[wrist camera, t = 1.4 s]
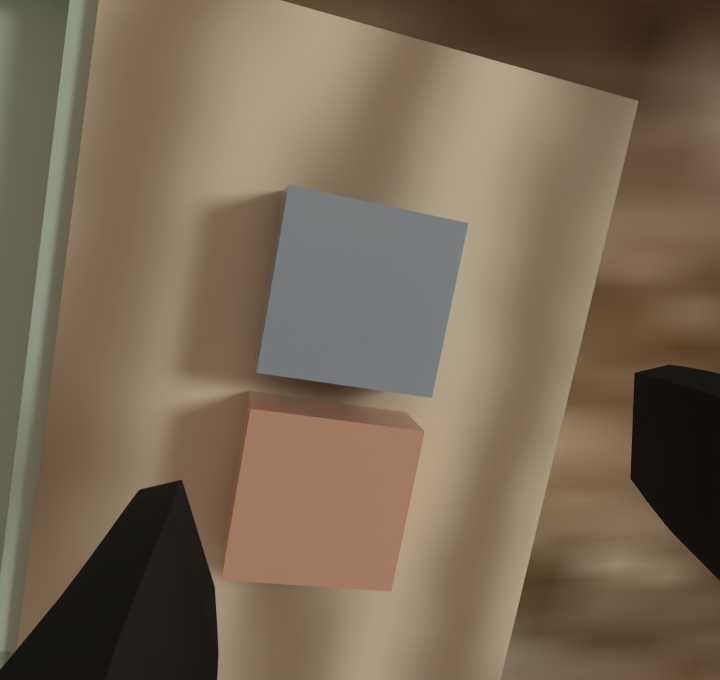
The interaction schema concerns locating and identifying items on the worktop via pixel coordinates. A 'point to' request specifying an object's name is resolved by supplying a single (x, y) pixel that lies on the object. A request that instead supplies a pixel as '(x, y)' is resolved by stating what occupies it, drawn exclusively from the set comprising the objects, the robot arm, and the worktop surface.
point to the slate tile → (358, 293)
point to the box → (33, 249)
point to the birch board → (247, 293)
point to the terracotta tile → (320, 493)
